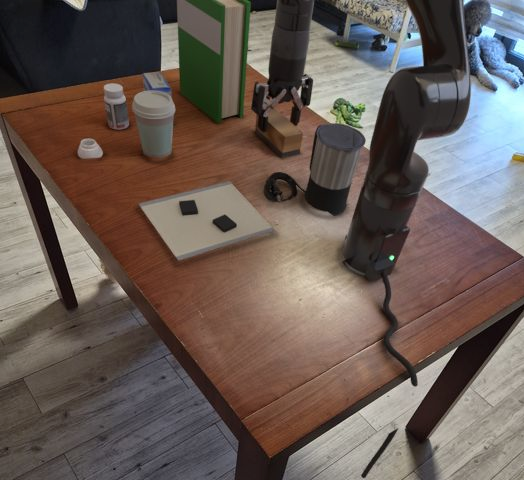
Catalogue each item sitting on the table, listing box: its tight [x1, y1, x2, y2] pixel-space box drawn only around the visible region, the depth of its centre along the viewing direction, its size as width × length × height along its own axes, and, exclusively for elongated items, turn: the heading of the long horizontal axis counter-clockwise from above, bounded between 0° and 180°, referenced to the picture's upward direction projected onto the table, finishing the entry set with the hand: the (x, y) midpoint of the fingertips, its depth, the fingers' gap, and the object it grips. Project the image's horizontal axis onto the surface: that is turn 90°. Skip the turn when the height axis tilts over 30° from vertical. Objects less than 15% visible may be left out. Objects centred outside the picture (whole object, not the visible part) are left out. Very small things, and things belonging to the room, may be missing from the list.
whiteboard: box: [138, 180, 276, 262], centre depth 89 cm, size 18×20×1 cm
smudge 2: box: [213, 215, 237, 233], centre depth 88 cm, size 4×3×1 cm
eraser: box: [254, 108, 304, 159], centre depth 109 cm, size 12×5×5 cm, turn 32°
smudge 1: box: [179, 200, 198, 216], centre depth 90 cm, size 4×3×1 cm
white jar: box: [77, 138, 104, 160], centre depth 98 cm, size 5×3×5 cm
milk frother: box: [263, 122, 367, 217], centre depth 92 cm, size 14×16×15 cm
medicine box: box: [142, 72, 173, 99], centre depth 109 cm, size 8×4×9 cm, turn 25°
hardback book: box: [176, 0, 252, 124], centre depth 110 cm, size 18×7×24 cm, turn 37°
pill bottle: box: [103, 82, 130, 131], centre depth 105 cm, size 5×5×8 cm
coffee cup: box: [131, 90, 176, 159], centre depth 98 cm, size 8×8×12 cm
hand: (278, 127), depth 108 cm, fingers open, 8 cm apart
